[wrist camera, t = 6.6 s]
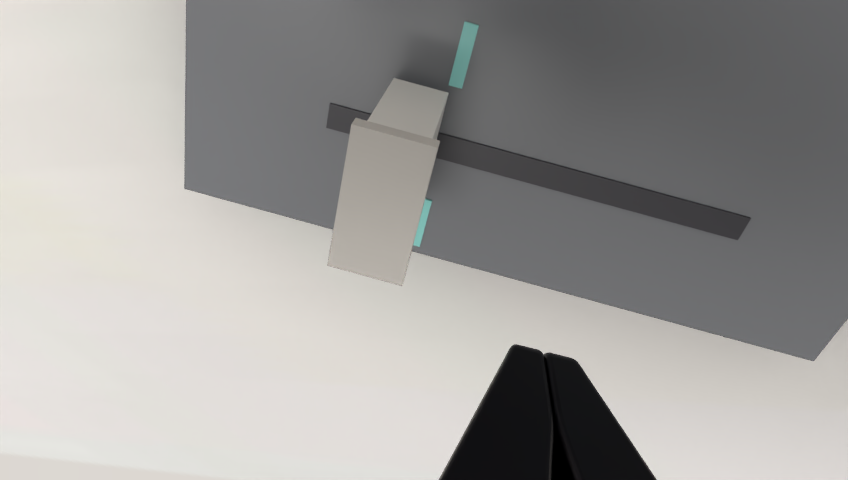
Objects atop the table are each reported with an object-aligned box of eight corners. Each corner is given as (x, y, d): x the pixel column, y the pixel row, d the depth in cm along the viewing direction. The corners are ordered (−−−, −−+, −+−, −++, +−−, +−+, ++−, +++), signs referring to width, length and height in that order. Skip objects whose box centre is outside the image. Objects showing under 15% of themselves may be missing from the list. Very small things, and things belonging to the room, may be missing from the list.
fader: (457, 87, 17) (437, 147, 14) (425, 207, 19) (402, 286, 16) (388, 69, 17) (351, 124, 14) (364, 191, 20) (327, 265, 16)
